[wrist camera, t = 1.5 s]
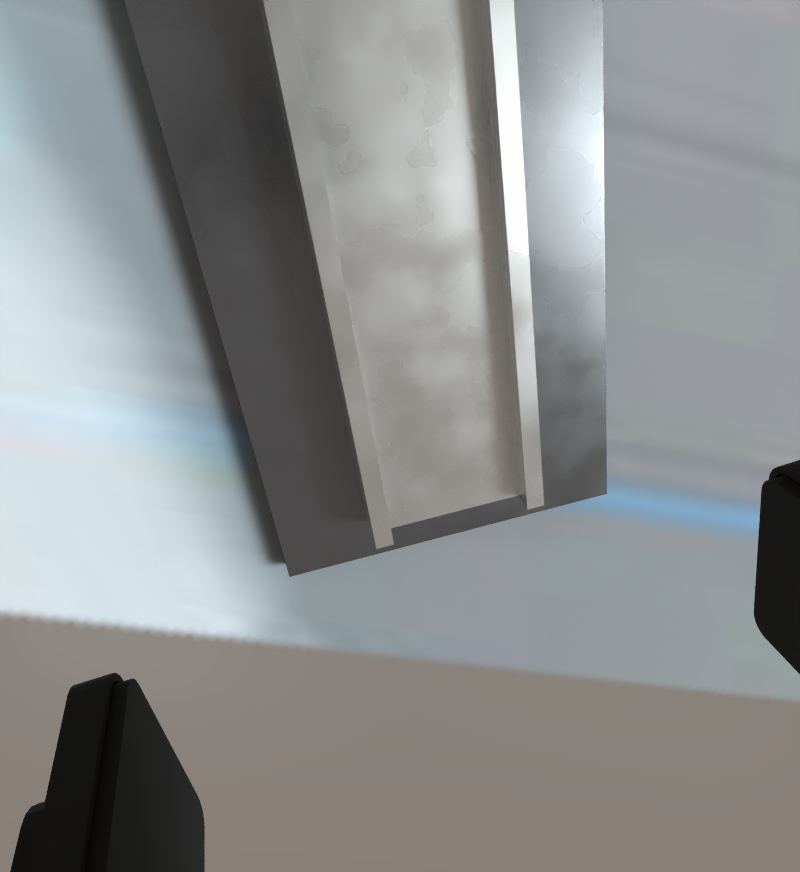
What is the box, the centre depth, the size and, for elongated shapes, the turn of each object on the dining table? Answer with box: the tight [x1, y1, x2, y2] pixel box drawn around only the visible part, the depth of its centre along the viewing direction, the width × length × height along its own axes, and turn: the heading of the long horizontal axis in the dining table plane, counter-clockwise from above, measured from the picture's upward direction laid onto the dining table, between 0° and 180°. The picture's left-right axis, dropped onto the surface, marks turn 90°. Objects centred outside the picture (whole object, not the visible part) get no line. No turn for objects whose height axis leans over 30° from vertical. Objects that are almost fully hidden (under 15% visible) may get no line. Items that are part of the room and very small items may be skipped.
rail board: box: [124, 0, 607, 577], centre depth 29 cm, size 26×16×3 cm, turn 9°
